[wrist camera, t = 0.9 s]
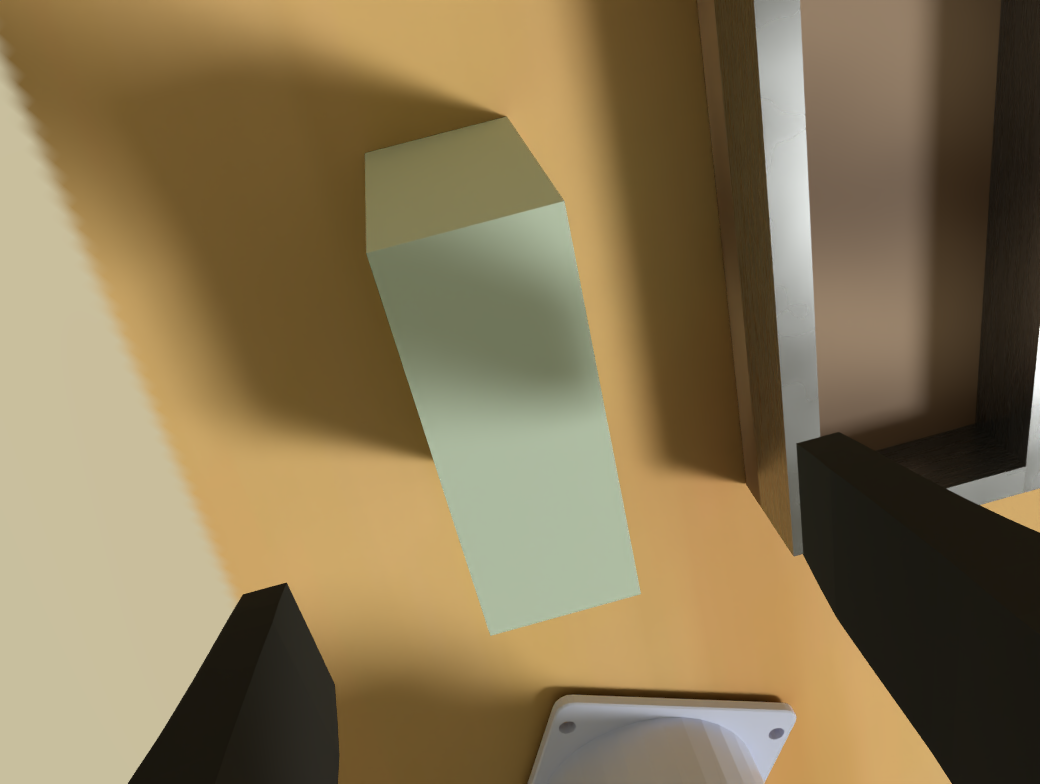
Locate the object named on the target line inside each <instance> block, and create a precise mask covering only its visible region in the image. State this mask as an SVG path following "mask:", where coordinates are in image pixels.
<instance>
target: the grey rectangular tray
mask: <svg viewBox="0 0 1040 784" xmlns="http://www.w3.org/2000/svg"><path fill="white" fill-rule="evenodd" d="M697 7H698V17H699V27H700V36H701V46H702V56H703V66H704V75H705V85H706V95H707V105H708V115H709V124H710V134H711V144H712V154H713V163H714V173H715V183H716V193H717V202H718V212H719V222H720V232H721V242H722V251H723V261H724V271H725V281H726V290H727V300H728V310H729V320H730V330H731V339H732V349H733V359H734V369H735V378H736V388H737V398H738V408H739V417H740V427H741V437H742V447H743V457H744V466H745V476H746V485H747V487H748V488H749V490H750V491H751V493H752V494H753V496H754V497H755V499H756V500H757V502H758V503H759V505H760V506H761V508H762V509H763V511H764V512H765V514H766V515H767V517H768V518H769V520H770V521H771V523H772V524H773V526H774V527H775V529H776V530H777V532H778V534H779V535H780V537H781V538H782V540H783V541H784V543H785V544H786V546H787V547H788V549H789V550H790V552H791V553H792V555H793V556H797V555H801V554H803V543H802V527H801V511H800V495H799V479H798V464H797V448H796V443H800V442H803V441H807V440H811V439H814V438H818V437H822V436H825V435H829V434H833V433H836V432H840V433H842V434H844V435H846V436H848V437H850V438H852V439H854V440H856V441H857V442H859V443H861V444H863V445H865V446H867V447H869V448H871V449H872V450H874V451H876V452H878V453H880V454H882V455H884V456H885V457H887V458H889V459H891V460H893V461H895V462H896V463H898V464H900V465H902V466H904V467H906V468H908V469H910V470H911V471H913V472H915V473H917V474H919V475H921V476H923V477H925V478H926V479H928V480H930V481H932V482H934V483H936V484H938V485H940V486H942V487H944V488H946V489H948V490H950V491H952V492H954V493H956V494H958V495H960V496H962V497H964V498H966V499H968V500H970V501H972V502H974V503H976V504H978V505H981V504H985V503H988V502H992V501H996V500H999V499H1003V498H1006V497H1010V496H1014V495H1017V494H1021V493H1024V492H1028V491H1032V490H1035V489H1039V488H1040V0H697Z"/></svg>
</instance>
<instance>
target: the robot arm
mask: <svg viewBox="0 0 1040 784" xmlns="http://www.w3.org/2000/svg"><path fill="white" fill-rule="evenodd" d="M796 448H797V464H798V479H799V495H800V511H801V527H802V543H803V555H804V557H805V559H806V561H807V563H808V565H809V567H810V569H811V571H812V573H813V575H814V577H815V579H816V580H817V582H818V584H819V586H820V588H821V590H822V592H823V594H824V596H825V597H826V599H827V601H828V603H829V605H830V607H831V608H832V610H833V612H834V614H835V616H836V617H837V619H838V620H839V622H840V623H841V625H842V626H843V628H844V629H845V630H846V632H847V633H848V635H849V636H850V638H851V639H852V640H853V642H854V643H855V645H856V646H857V648H858V649H859V650H860V652H861V653H862V655H863V656H864V658H865V659H866V660H867V662H868V663H869V665H870V666H871V668H872V669H873V670H874V672H875V673H876V675H877V676H878V677H879V679H880V680H881V682H882V683H883V684H884V686H885V687H886V689H887V690H888V691H889V693H890V694H891V696H892V697H893V698H894V700H895V701H896V703H897V704H898V706H899V707H900V708H901V710H902V711H903V713H904V714H905V715H906V717H907V718H908V720H909V721H910V722H911V724H912V725H913V727H914V728H915V729H916V731H917V732H918V734H919V735H920V736H921V738H922V739H923V741H924V742H925V744H926V745H927V746H928V748H929V749H930V751H931V752H932V754H933V755H934V757H935V758H936V760H937V761H938V763H939V764H940V766H941V767H942V769H943V771H944V772H945V774H946V775H947V777H948V778H949V780H950V781H951V783H952V784H1040V533H1039V532H1037V531H1034V530H1032V529H1030V528H1028V527H1025V526H1023V525H1021V524H1018V523H1016V522H1014V521H1012V520H1009V519H1007V518H1005V517H1003V516H1001V515H999V514H997V513H995V512H992V511H990V510H988V509H986V508H984V507H982V506H980V505H978V504H976V503H974V502H972V501H970V500H968V499H966V498H964V497H962V496H960V495H958V494H956V493H954V492H952V491H950V490H948V489H946V488H944V487H942V486H940V485H938V484H936V483H934V482H932V481H930V480H928V479H926V478H925V477H923V476H921V475H919V474H917V473H915V472H913V471H911V470H910V469H908V468H906V467H904V466H902V465H900V464H898V463H896V462H895V461H893V460H891V459H889V458H887V457H885V456H884V455H882V454H880V453H878V452H876V451H874V450H872V449H871V448H869V447H867V446H865V445H863V444H861V443H859V442H857V441H856V440H854V439H852V438H850V437H848V436H846V435H844V434H842V433H840V432H836V433H833V434H829V435H825V436H822V437H818V438H814V439H811V440H807V441H803V442H800V443H796ZM568 721H569V722H568ZM795 721H796V715H795V713H794V711H793V709H792V707H791V706H790V705H789V704H786V703H778V702H752V701H726V700H700V699H674V698H649V697H623V696H597V695H566V696H563V697H561V698H560V699H558V700H557V701H556V702H555V704H554V705H553V708H552V711H551V714H550V717H549V720H548V723H547V726H546V729H545V732H544V735H543V738H542V741H541V744H540V747H539V750H538V753H537V756H536V759H535V763H534V766H533V769H532V772H531V775H530V778H529V781H528V784H765V781H766V779H767V777H768V775H769V773H770V771H771V769H772V767H773V765H774V763H775V761H776V759H777V757H778V755H779V753H780V751H781V749H782V747H783V745H784V743H785V741H786V739H787V737H788V735H789V733H790V731H791V729H792V727H793V725H794V723H795ZM564 722H567V723H564ZM338 770H339V741H338V722H337V708H336V694H335V684H334V682H333V680H332V678H331V675H330V673H329V671H328V669H327V667H326V665H325V663H324V661H323V658H322V656H321V654H320V652H319V650H318V648H317V646H316V644H315V642H314V639H313V637H312V635H311V633H310V631H309V629H308V627H307V625H306V622H305V620H304V618H303V616H302V614H301V612H300V610H299V608H298V606H297V603H296V601H295V599H294V597H293V595H292V593H291V591H290V589H289V586H288V584H287V583H283V584H280V585H276V586H272V587H269V588H265V589H261V590H258V591H254V592H251V593H247V594H243V595H242V597H241V599H240V600H239V602H238V604H237V605H236V607H235V609H234V610H233V612H232V614H231V615H230V617H229V619H228V620H227V622H226V624H225V626H224V627H223V629H222V631H221V633H220V634H219V636H218V638H217V640H216V641H215V643H214V645H213V647H212V648H211V650H210V652H209V654H208V655H207V657H206V659H205V661H204V662H203V664H202V666H201V667H200V669H199V671H198V673H197V674H196V676H195V678H194V680H193V682H192V683H191V685H190V686H189V688H188V690H187V691H186V693H185V695H184V696H183V698H182V700H181V701H180V703H179V705H178V706H177V708H176V710H175V711H174V713H173V715H172V716H171V718H170V719H169V721H168V723H167V724H166V726H165V728H164V729H163V731H162V732H161V734H160V736H159V737H158V739H157V740H156V742H155V743H154V745H153V746H152V748H151V750H150V751H149V753H148V754H147V755H146V757H145V759H144V760H143V761H142V763H141V764H140V766H139V767H138V769H137V770H136V772H135V773H134V775H133V776H132V778H131V779H130V781H129V782H128V784H338Z"/></svg>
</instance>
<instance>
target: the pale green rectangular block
mask: <svg viewBox="0 0 1040 784" xmlns="http://www.w3.org/2000/svg"><path fill="white" fill-rule="evenodd" d="M365 201H366V254H367V257H368V260H369V263H370V266H371V269H372V272H373V276H374V279H375V282H376V285H377V288H378V291H379V294H380V297H381V300H382V303H383V306H384V309H385V312H386V316H387V319H388V322H389V325H390V328H391V331H392V334H393V337H394V340H395V343H396V346H397V349H398V352H399V356H400V359H401V362H402V365H403V368H404V371H405V374H406V377H407V380H408V383H409V386H410V389H411V392H412V396H413V399H414V402H415V405H416V408H417V411H418V414H419V417H420V420H421V423H422V426H423V429H424V433H425V436H426V439H427V442H428V445H429V448H430V451H431V454H432V457H433V460H434V463H435V466H436V469H437V473H438V476H439V479H440V482H441V485H442V488H443V491H444V494H445V497H446V500H447V503H448V506H449V509H450V513H451V516H452V519H453V522H454V525H455V528H456V531H457V534H458V537H459V540H460V543H461V546H462V550H463V553H464V556H465V559H466V562H467V565H468V568H469V571H470V574H471V577H472V580H473V583H474V586H475V590H476V593H477V596H478V599H479V602H480V605H481V608H482V611H483V614H484V617H485V620H486V623H487V626H488V630H489V633H490V636H491V635H495V634H499V633H502V632H506V631H509V630H513V629H517V628H520V627H524V626H527V625H531V624H535V623H538V622H542V621H546V620H549V619H553V618H556V617H560V616H564V615H567V614H571V613H574V612H578V611H582V610H585V609H589V608H592V607H596V606H600V605H603V604H607V603H610V602H614V601H618V600H621V599H625V598H628V597H632V596H636V595H639V594H641V592H640V587H639V582H638V577H637V572H636V567H635V561H634V556H633V551H632V546H631V541H630V536H629V531H628V526H627V520H626V515H625V510H624V505H623V500H622V495H621V490H620V484H619V479H618V474H617V469H616V464H615V459H614V454H613V449H612V443H611V438H610V433H609V428H608V423H607V418H606V413H605V407H604V402H603V397H602V392H601V387H600V382H599V377H598V372H597V366H596V361H595V356H594V351H593V346H592V341H591V336H590V330H589V325H588V320H587V315H586V310H585V305H584V300H583V295H582V289H581V284H580V279H579V274H578V269H577V264H576V259H575V253H574V248H573V243H572V238H571V233H570V228H569V223H568V217H567V212H566V207H565V202H564V200H563V198H562V197H561V195H560V194H559V193H558V191H557V190H556V188H555V187H554V185H553V184H552V182H551V181H550V179H549V178H548V176H547V175H546V173H545V172H544V170H543V169H542V168H541V166H540V165H539V163H538V162H537V160H536V159H535V157H534V156H533V154H532V153H531V151H530V150H529V148H528V147H527V145H526V144H525V143H524V141H523V140H522V138H521V137H520V135H519V134H518V132H517V131H516V129H515V128H514V126H513V125H512V123H511V122H510V120H509V119H508V118H507V116H506V117H502V118H499V119H495V120H491V121H487V122H483V123H479V124H475V125H472V126H468V127H464V128H460V129H456V130H452V131H448V132H445V133H441V134H437V135H433V136H429V137H425V138H421V139H417V140H414V141H410V142H406V143H402V144H398V145H394V146H390V147H387V148H383V149H379V150H375V151H371V152H367V153H365Z"/></svg>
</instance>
